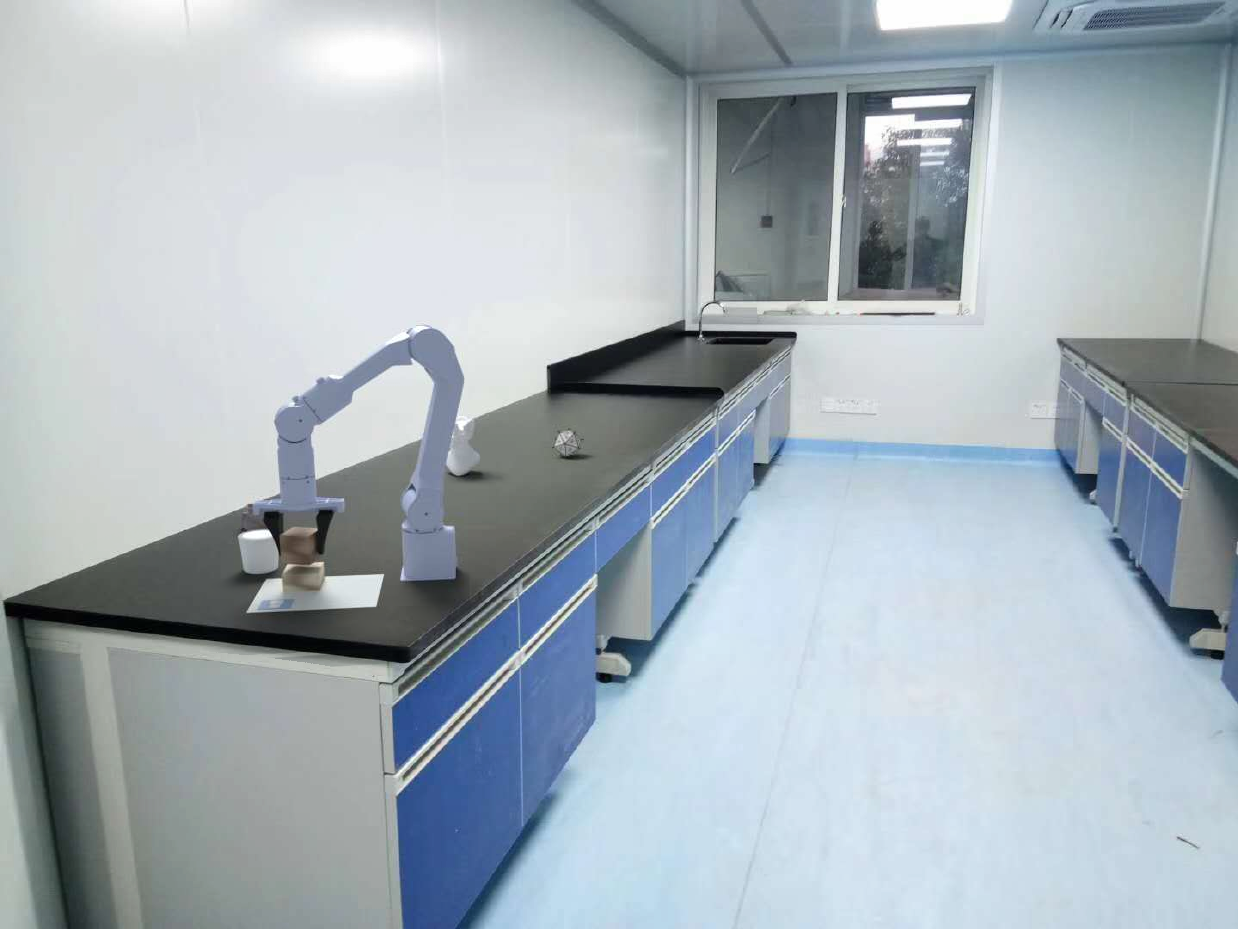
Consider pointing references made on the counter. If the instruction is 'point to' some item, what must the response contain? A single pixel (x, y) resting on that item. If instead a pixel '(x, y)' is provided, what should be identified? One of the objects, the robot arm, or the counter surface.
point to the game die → (567, 443)
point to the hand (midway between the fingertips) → (302, 553)
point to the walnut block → (299, 546)
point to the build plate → (320, 595)
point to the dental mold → (252, 519)
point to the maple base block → (303, 577)
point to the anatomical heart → (462, 448)
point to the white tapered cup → (258, 551)
